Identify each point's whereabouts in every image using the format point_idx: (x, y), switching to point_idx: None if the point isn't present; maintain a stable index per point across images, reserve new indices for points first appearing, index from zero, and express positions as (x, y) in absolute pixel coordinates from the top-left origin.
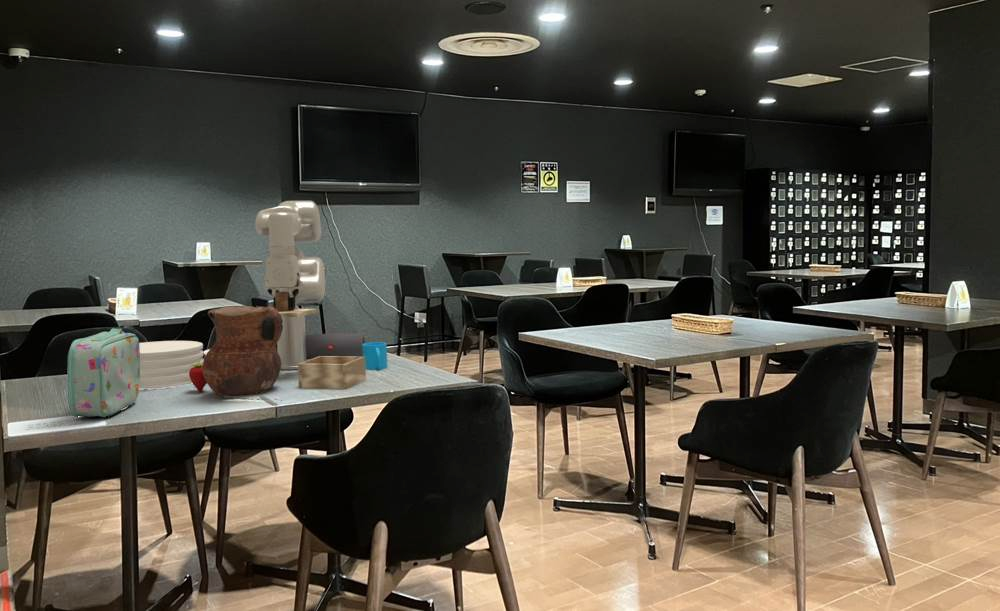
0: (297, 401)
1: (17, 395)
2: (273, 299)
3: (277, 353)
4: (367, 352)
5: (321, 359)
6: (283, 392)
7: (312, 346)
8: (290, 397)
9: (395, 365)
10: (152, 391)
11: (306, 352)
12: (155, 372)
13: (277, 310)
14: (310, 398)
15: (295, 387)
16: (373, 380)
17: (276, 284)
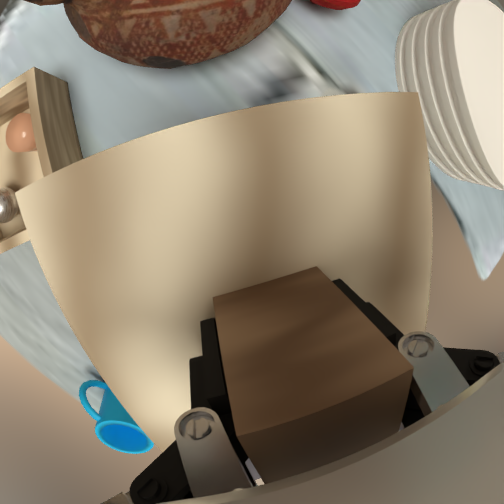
0: (20, 19)
1: (500, 5)
2: (400, 333)
3: (70, 10)
4: (118, 407)
5: None
6: (94, 53)
7: None
8: (49, 30)
9: None
10: (401, 3)
11: None
12: (432, 9)
13: (305, 273)
14: (9, 50)
15: (104, 112)
16: (13, 275)
17: (452, 456)
